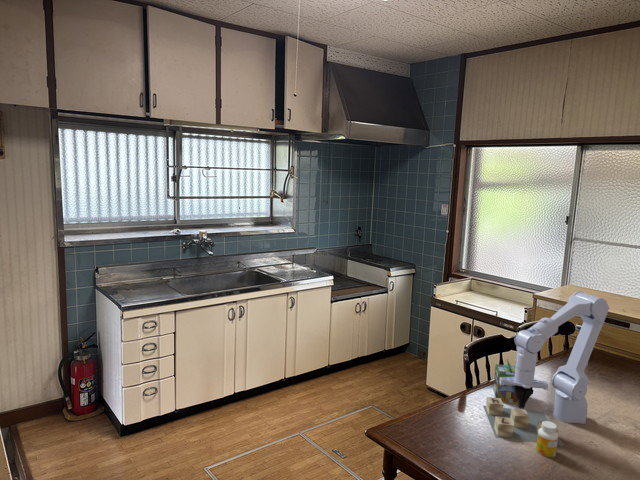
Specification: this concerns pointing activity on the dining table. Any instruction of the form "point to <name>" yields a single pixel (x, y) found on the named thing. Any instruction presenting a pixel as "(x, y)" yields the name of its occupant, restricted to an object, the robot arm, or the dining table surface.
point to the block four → (494, 406)
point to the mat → (521, 433)
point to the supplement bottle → (547, 439)
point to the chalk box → (504, 391)
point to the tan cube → (540, 426)
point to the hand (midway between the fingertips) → (520, 407)
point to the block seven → (503, 426)
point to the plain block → (519, 418)
